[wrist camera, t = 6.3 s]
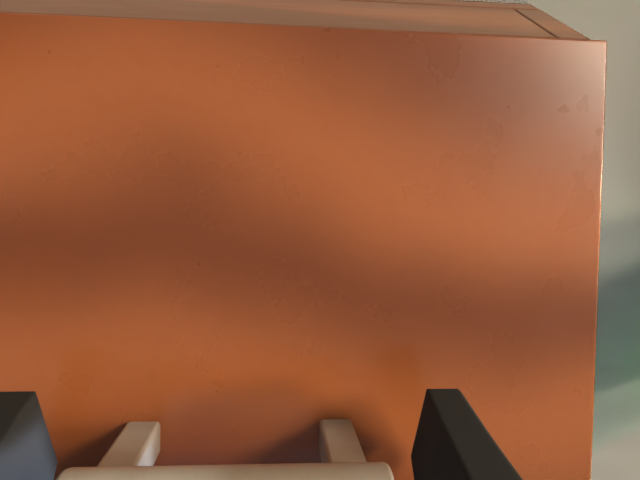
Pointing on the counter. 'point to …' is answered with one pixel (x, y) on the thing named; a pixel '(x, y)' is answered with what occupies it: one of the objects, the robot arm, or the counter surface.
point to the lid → (296, 244)
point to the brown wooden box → (324, 14)
